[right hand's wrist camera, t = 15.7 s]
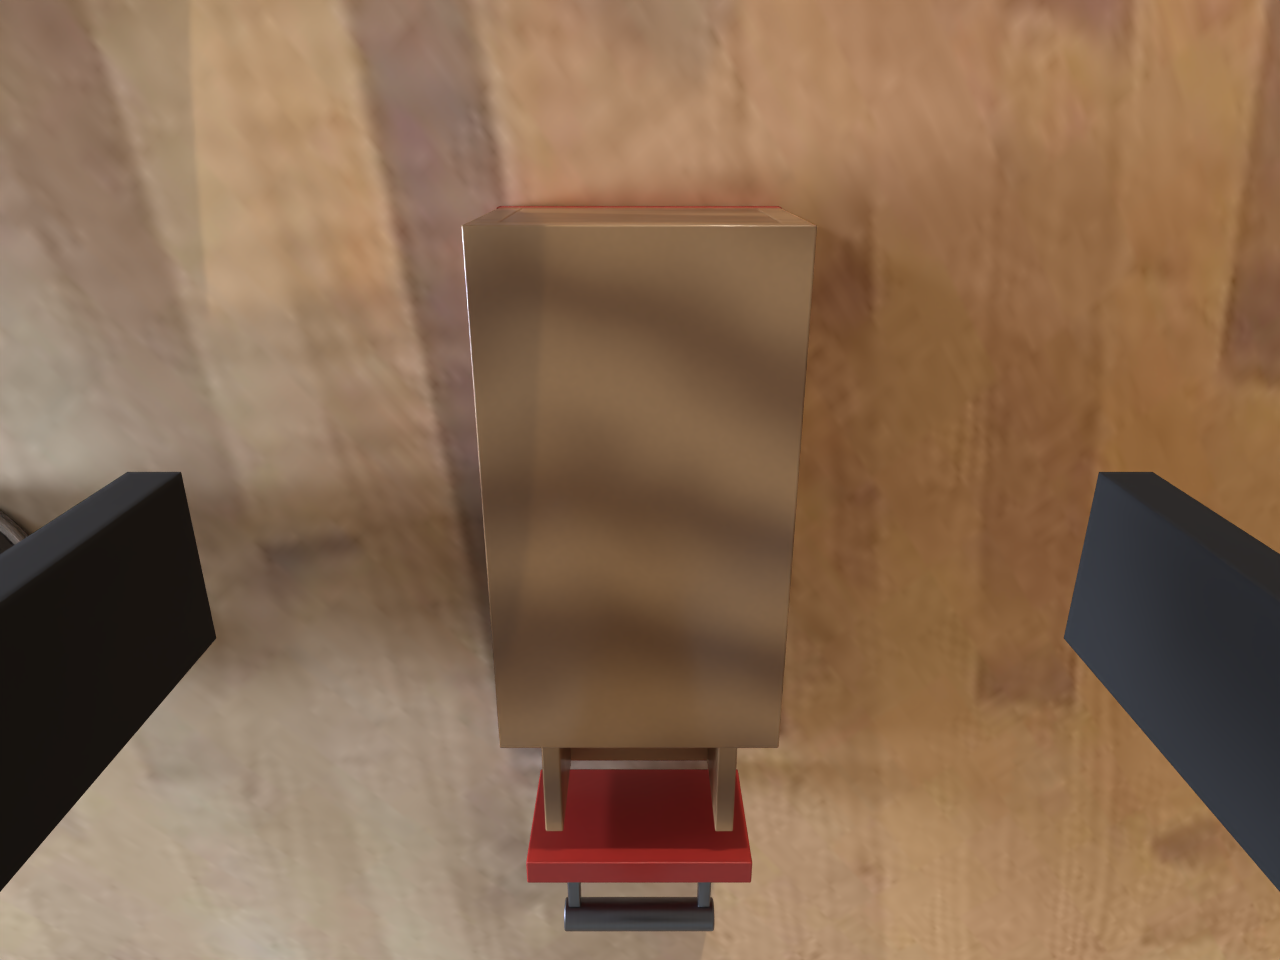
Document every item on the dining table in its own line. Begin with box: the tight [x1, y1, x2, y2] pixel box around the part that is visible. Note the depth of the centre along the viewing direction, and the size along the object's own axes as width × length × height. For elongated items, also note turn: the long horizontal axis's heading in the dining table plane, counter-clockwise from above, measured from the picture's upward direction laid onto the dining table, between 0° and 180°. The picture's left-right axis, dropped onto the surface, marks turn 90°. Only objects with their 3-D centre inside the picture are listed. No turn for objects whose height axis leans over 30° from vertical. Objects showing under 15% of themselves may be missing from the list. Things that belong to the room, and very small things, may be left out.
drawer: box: [526, 748, 752, 931], centre depth 39 cm, size 25×10×6 cm, turn 0°
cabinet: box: [462, 206, 817, 748], centre depth 35 cm, size 21×11×8 cm, turn 0°
